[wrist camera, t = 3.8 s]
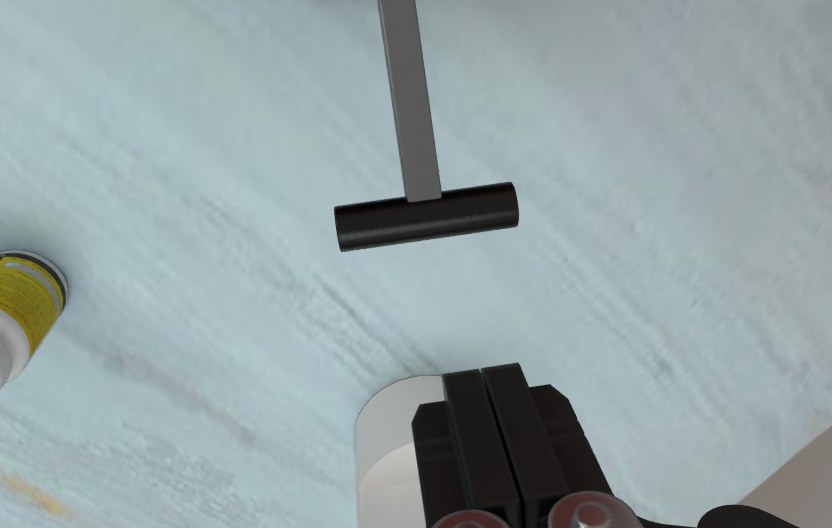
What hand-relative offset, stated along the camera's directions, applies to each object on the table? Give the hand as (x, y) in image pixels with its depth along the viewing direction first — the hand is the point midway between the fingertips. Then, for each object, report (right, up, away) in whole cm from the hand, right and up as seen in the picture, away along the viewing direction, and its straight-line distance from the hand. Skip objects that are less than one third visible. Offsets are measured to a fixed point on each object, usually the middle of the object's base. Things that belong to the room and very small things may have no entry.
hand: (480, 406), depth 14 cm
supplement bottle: (-23, +2, +26) cm, 35 cm away
